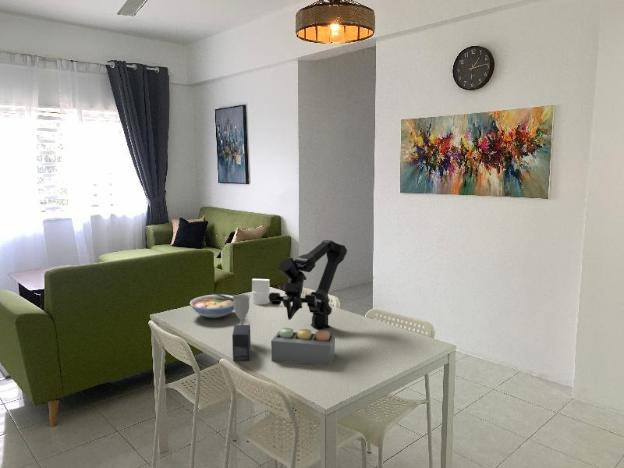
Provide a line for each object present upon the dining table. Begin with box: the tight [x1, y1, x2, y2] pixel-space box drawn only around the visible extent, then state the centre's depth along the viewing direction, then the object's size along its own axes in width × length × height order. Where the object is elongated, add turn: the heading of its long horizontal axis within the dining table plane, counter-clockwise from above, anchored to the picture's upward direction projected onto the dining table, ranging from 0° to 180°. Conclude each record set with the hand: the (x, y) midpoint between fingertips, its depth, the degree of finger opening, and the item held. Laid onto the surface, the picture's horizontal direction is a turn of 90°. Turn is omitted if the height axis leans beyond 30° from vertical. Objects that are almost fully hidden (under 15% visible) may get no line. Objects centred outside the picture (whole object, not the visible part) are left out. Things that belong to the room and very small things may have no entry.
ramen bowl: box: [189, 292, 235, 319], centre depth 227 cm, size 25×23×8 cm
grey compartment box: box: [270, 330, 336, 366], centre depth 180 cm, size 11×22×8 cm, turn 78°
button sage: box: [279, 327, 294, 339], centre depth 182 cm, size 5×5×3 cm
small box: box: [231, 324, 252, 362], centre depth 181 cm, size 11×6×10 cm, turn 5°
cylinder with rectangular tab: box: [251, 278, 271, 306], centre depth 250 cm, size 9×9×12 cm
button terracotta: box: [315, 329, 331, 342], centre depth 179 cm, size 5×5×3 cm
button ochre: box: [297, 328, 312, 340], centre depth 181 cm, size 5×5×3 cm
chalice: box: [232, 293, 251, 325], centre depth 197 cm, size 7×7×18 cm
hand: (289, 319), depth 186 cm, fingers closed
